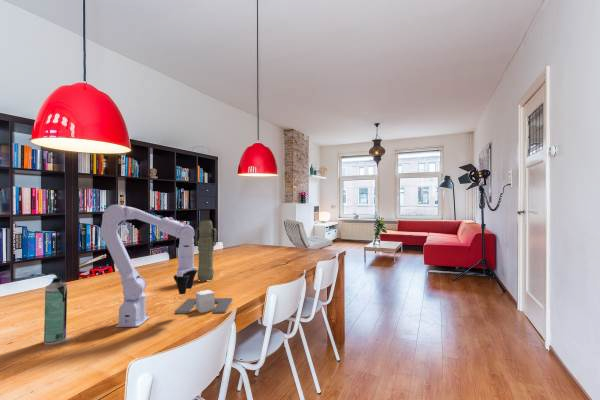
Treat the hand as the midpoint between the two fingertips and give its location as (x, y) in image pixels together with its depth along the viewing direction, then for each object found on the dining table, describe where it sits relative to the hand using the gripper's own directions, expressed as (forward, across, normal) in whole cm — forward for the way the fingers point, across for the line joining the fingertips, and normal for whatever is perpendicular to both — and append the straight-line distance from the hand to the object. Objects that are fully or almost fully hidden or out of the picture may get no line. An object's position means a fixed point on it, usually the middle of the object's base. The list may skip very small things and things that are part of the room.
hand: (185, 291), depth 121 cm
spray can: (+10, -21, +34) cm, 41 cm away
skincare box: (+10, +8, -6) cm, 14 cm away
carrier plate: (+10, +12, -5) cm, 16 cm away
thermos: (+10, +60, +8) cm, 62 cm away
